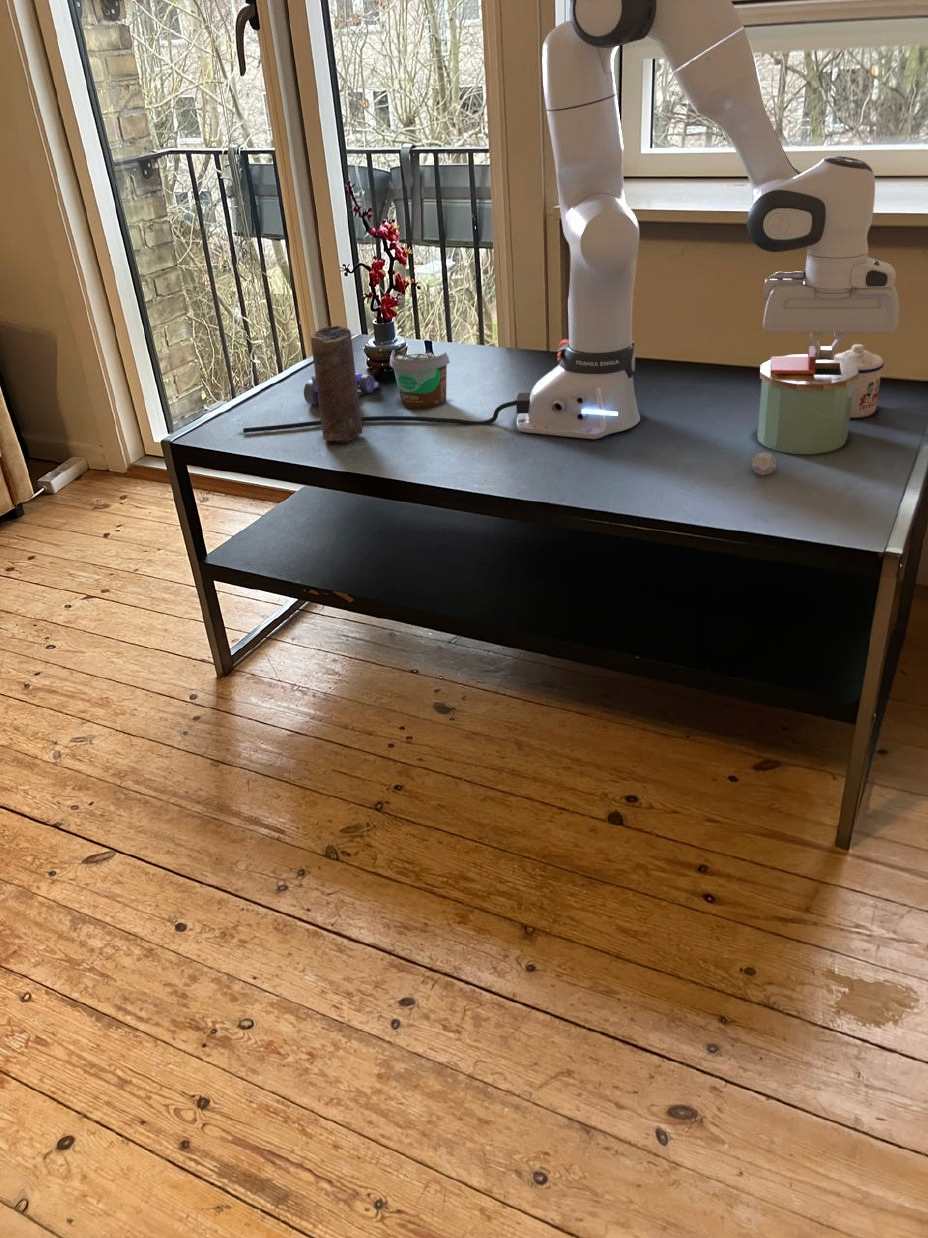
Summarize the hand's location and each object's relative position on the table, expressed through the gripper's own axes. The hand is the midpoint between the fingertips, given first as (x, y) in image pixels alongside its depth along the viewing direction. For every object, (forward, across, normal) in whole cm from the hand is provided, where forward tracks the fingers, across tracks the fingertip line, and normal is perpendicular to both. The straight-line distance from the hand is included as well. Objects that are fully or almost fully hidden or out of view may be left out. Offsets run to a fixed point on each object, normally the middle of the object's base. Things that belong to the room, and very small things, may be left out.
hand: (824, 358), depth 163 cm
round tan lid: (+3, -2, 0) cm, 4 cm away
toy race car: (+14, -91, +16) cm, 94 cm away
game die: (+14, -8, -15) cm, 22 cm away
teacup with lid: (+14, +7, +15) cm, 21 cm away
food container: (+14, -74, +12) cm, 77 cm away
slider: (+1, -5, 0) cm, 5 cm away
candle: (+14, -83, -6) cm, 85 cm away
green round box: (+14, -2, 0) cm, 14 cm away
